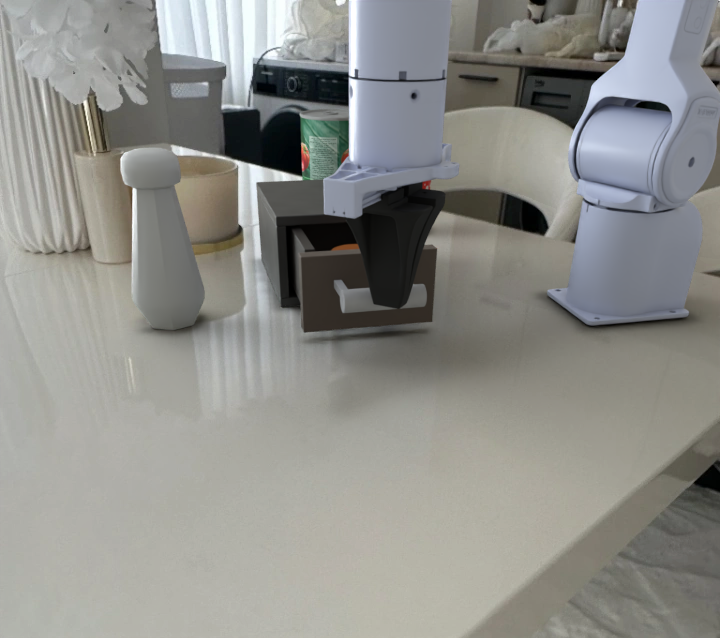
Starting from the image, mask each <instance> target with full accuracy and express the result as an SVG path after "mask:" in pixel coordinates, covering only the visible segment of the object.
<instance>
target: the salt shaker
mask: <svg viewBox="0 0 720 638" xmlns="http://www.w3.org/2000/svg"><path fill="white" fill-rule="evenodd" d="M180 164H181V163H180V160H179V157H178V155H177V154H176V153H175V152H174V151H172V150H170V149H166V148H163V147H140V148H139V147H138V148H134V149H132V150H128V151H126V152H124V153H123V154H122V155H121V157H120V175H121V178H122V182H123V183H124V185H126V186H129V187H130V188H132V194H131V195H132V199H131V200H132V201H131V203H132V206H131V207H132V208H131V214H132V215H131V216H132V218H131V219H132V220H131V299H132V302H133V304H134V306H135V307H136V308H137V310H138V311H139V312H140V314H142V316H143V317H144V319H145V320H146V322H148V324H149V326H150V327H151V328H152V329H155V330H156V329H157V330H168V331H175V330H180V329H183V328H187V327H191V326H194V325H195V323H196V321H197V319H198V317H199V314H200V311H201V308H202V306H203V304H204V301H205V297H206V294H205V293H206V292H205V286H204V283H203V279H202V276H201V272H200V269H199V265H198V261H197V259H196V255H195V251H194V249H193V245H192V241H191V237H190V235H189V231H188V228H187V223H186V221H185V218H184V214H183V210H182V207H181V203H180V200H179V197H178V194H177V190H176V187H175V185H178V184H179V183H181V179H182V172H181V165H180Z"/></svg>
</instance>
